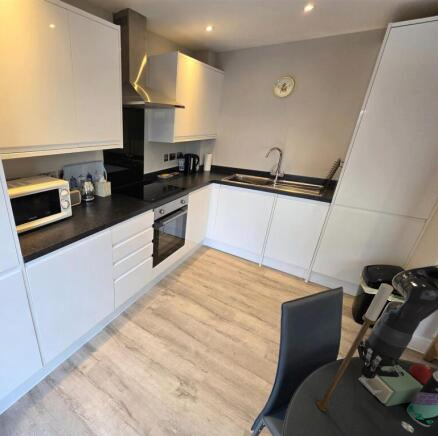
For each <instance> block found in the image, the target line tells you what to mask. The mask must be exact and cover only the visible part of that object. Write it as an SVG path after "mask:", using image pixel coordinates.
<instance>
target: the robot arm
mask: <svg viewBox="0 0 438 436" xmlns="http://www.w3.org/2000/svg"><path fill="white" fill-rule="evenodd" d="M391 284H392V285H391V286H392V287H393V288H394V289H395V290H396V292H398V294H400V295H401V296H402V297H403V298H404V301H399V300H393V301H390V302H388V303H387V305H386V306H385V308H384V310H382V313H381V315H380V317H379V318H377V319H376V320H377V321H376V323H375V324H374V325H373V327H372V329H371V331H370V333H369V335H368V336H367V338H366V339H364V338H363V339H362V340H361V342H360V344H359V346H358V348H357V353H358V356H359V359H360V360H361V361H362V362H363V363H364V365H363V367H362V369H361V372H362V373H361V374H362V375H364V376H365V377H366V378H367V379H368V378H369V379H373V378H375V376H376V374H377V375H378V376H384V377H401V376H404V373H403V372H402V371H399V369H398V367H397V365H399V359H400V358H401V357H402V355H403V354H404V352H405V351H406V349H407V348H408V346H409V344H410V343H411V341H412V339H413V336H414V334H415V332H416V331H417V329H418V328H419V326H420V324H421V322H422V321H424V320H426V319H427V318H429V317H431V315H433V314H434V313H435V312H437V311H438V264H434V265H426V266H419V267H415V268H409V269H405V270H403V271H400V272H399V273H397V274H396V275H394V277H393V278H392V280H391ZM384 366H391V367H392V368H390V369H389V371H386V370H381V369H382V368H383V367H384Z"/></svg>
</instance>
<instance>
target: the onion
mask: <svg viewBox="0 0 438 436" xmlns="http://www.w3.org/2000/svg"><path fill="white" fill-rule="evenodd" d="M433 373H434V372H433V370H432V368H431V366H430V365H428V364H426V365H425V364H421V363H415V364H412V365H411V366H410V367H409V375H411V376H412V377H413V378H414V379H415V380H417V381H418V382H419V383H420V384H421V385H425V384H426V382H427V381H428V380H429V378H430V377H431V376H432V374H433Z"/></svg>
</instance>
